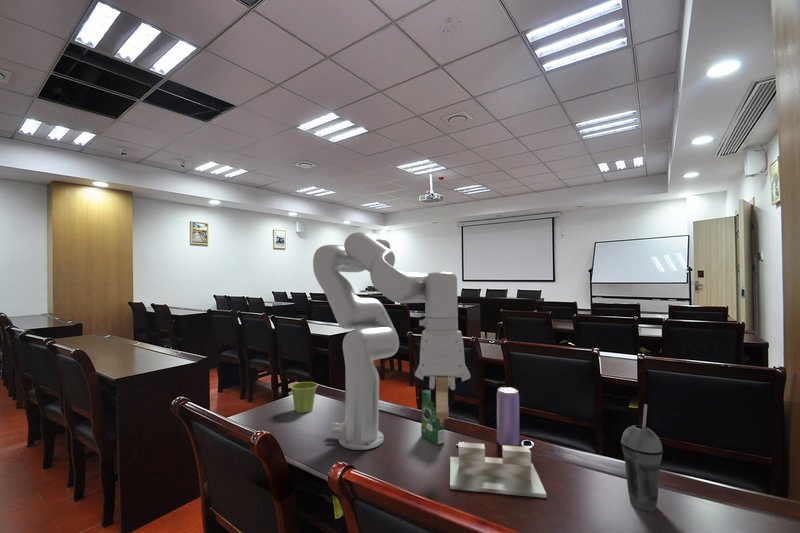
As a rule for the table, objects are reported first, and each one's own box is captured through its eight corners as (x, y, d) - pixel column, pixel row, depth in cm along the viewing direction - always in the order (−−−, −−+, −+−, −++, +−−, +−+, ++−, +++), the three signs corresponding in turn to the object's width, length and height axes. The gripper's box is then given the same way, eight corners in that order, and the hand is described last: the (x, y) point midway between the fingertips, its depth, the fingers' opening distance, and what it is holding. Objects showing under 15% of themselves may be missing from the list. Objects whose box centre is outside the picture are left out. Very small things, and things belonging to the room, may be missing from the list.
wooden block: (448, 419, 79) (447, 377, 79) (436, 418, 79) (435, 377, 80) (449, 403, 90) (449, 367, 91) (439, 402, 91) (438, 366, 92)
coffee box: (445, 444, 99) (446, 396, 100) (437, 446, 97) (438, 398, 98) (428, 433, 106) (428, 389, 106) (420, 436, 104) (421, 390, 105)
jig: (450, 488, 77) (450, 456, 77) (450, 459, 90) (450, 432, 90) (546, 497, 74) (546, 464, 75) (532, 466, 87) (532, 438, 87)
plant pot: (284, 414, 120) (285, 388, 120) (296, 405, 129) (297, 381, 130) (311, 416, 119) (311, 389, 119) (321, 406, 128) (321, 382, 128)
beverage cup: (613, 494, 76) (611, 399, 77) (645, 493, 76) (643, 398, 77) (639, 516, 68) (637, 411, 70) (674, 515, 69) (671, 410, 70)
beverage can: (520, 450, 96) (520, 393, 97) (497, 447, 97) (497, 392, 98) (517, 440, 102) (517, 387, 103) (496, 438, 103) (496, 386, 104)
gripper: (404, 326, 80) (405, 409, 79) (477, 326, 78) (479, 413, 76) (409, 323, 88) (410, 399, 86) (476, 323, 85) (478, 402, 84)
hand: (442, 405), depth 81 cm, fingers closed on wooden block, 2 cm apart
